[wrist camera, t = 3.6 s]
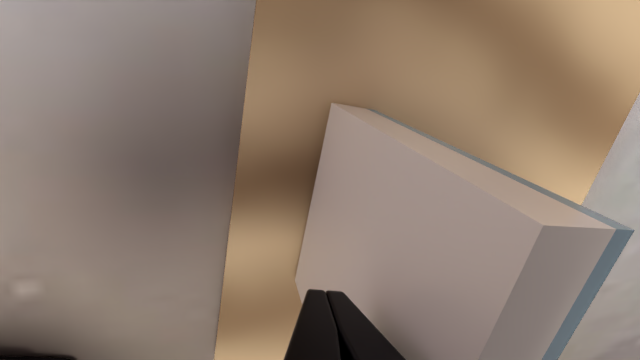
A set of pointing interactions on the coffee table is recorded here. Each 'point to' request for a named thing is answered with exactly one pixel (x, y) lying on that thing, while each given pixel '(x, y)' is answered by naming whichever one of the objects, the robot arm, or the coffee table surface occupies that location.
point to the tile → (449, 245)
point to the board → (412, 115)
